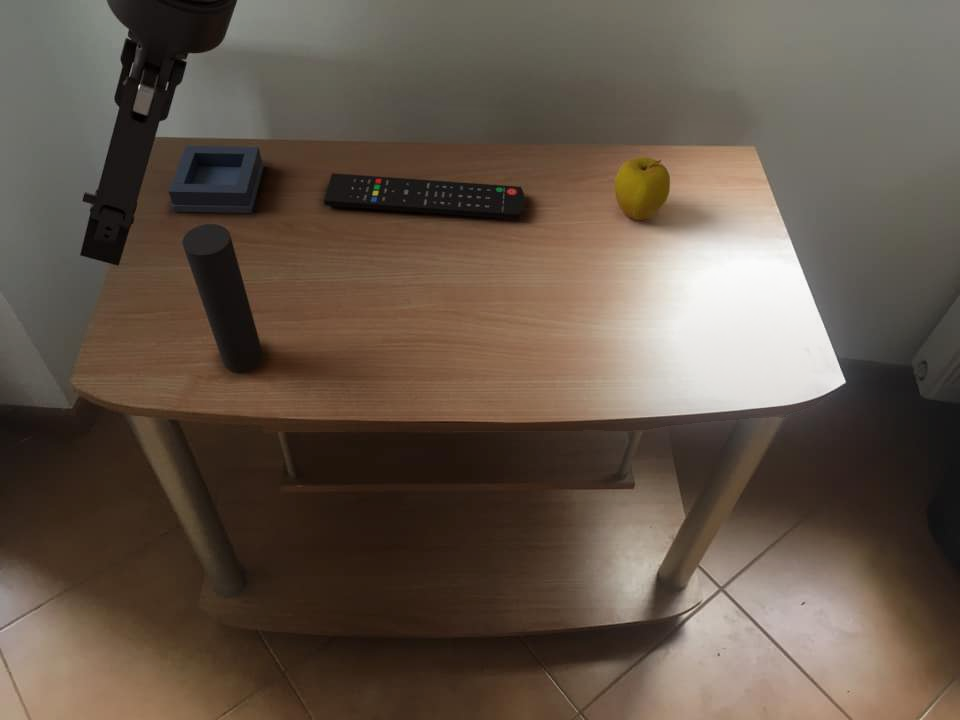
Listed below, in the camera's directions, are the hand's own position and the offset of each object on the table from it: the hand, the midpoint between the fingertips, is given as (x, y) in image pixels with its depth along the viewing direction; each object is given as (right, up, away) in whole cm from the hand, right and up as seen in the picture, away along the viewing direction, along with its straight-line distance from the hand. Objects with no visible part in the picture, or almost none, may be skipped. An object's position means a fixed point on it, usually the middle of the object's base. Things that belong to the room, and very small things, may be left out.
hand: (117, 195), depth 63 cm
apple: (+49, +5, +33) cm, 59 cm away
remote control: (+23, +6, +33) cm, 40 cm away
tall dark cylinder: (+5, -13, +16) cm, 21 cm away
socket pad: (-3, +8, +33) cm, 34 cm away
